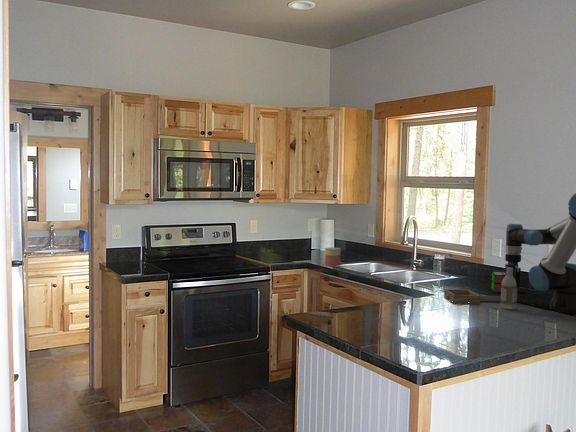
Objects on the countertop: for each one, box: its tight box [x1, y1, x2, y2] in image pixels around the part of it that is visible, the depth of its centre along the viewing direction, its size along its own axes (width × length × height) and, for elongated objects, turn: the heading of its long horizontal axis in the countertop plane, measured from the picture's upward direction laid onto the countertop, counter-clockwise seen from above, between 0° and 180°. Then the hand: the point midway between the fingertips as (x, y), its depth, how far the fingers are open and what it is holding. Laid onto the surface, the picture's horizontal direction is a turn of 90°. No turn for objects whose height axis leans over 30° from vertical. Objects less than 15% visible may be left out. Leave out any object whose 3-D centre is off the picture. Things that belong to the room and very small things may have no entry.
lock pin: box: [480, 287, 519, 303], centre depth 285 cm, size 4×22×11 cm, turn 91°
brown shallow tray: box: [443, 288, 481, 306], centre depth 285 cm, size 15×13×4 cm
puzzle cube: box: [491, 271, 505, 293], centre depth 315 cm, size 10×10×10 cm
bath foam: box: [500, 267, 518, 311], centre depth 270 cm, size 7×7×20 cm
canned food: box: [324, 247, 342, 267], centre depth 401 cm, size 11×11×12 cm
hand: (511, 298), depth 286 cm, fingers closed on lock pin, 4 cm apart
